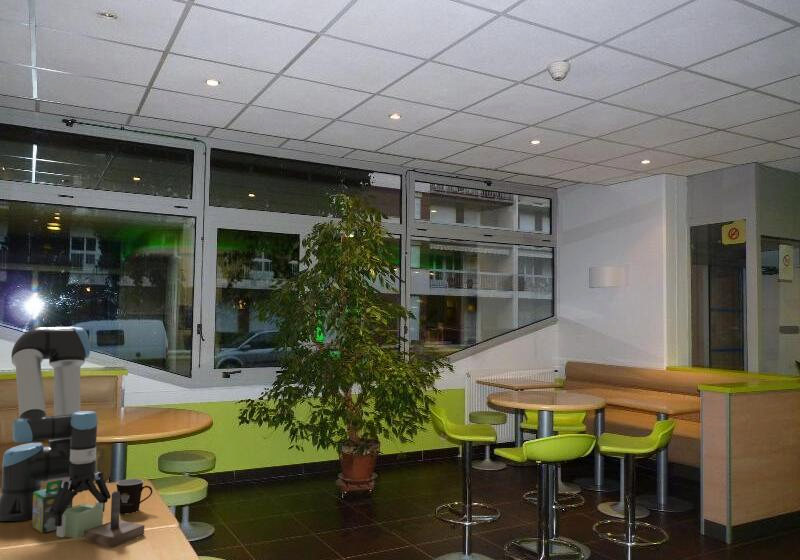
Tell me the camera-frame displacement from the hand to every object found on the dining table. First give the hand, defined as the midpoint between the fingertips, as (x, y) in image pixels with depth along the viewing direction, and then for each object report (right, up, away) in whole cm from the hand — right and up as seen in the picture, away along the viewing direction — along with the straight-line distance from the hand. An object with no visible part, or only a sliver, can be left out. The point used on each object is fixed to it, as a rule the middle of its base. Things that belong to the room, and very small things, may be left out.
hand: (80, 529), depth 200 cm
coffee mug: (+8, -2, +21) cm, 22 cm away
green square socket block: (0, -1, 0) cm, 1 cm away
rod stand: (+13, -1, -5) cm, 14 cm away
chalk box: (-11, -1, +4) cm, 12 cm away
